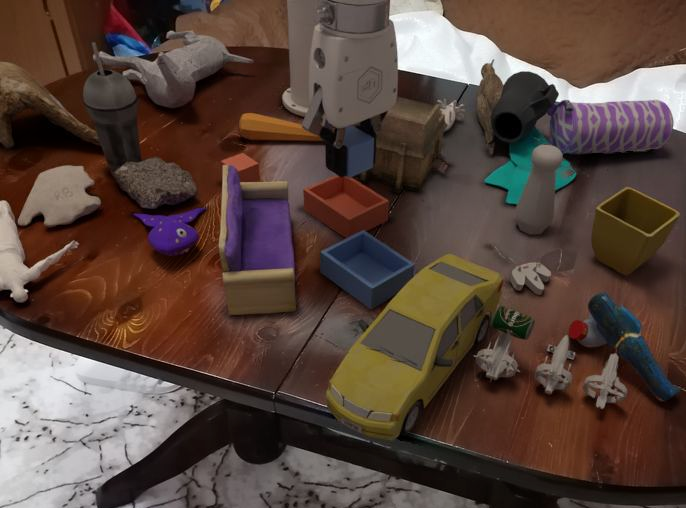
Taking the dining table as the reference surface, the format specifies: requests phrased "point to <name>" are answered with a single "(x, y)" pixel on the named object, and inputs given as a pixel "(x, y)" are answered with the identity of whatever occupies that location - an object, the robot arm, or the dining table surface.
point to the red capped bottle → (586, 332)
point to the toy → (171, 232)
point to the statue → (176, 67)
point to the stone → (155, 182)
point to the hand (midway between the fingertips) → (350, 164)
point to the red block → (244, 167)
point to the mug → (521, 105)
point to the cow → (450, 112)
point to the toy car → (413, 347)
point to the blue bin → (366, 268)
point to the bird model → (488, 101)
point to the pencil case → (609, 126)
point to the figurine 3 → (629, 343)
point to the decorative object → (59, 197)
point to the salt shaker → (539, 191)
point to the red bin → (345, 205)
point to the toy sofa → (256, 246)
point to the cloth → (523, 167)
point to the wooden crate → (408, 146)
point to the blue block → (358, 151)
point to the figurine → (19, 257)
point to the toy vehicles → (552, 370)
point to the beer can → (512, 323)
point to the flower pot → (630, 229)
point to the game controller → (529, 276)
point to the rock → (33, 104)
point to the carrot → (272, 129)
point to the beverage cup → (113, 114)
